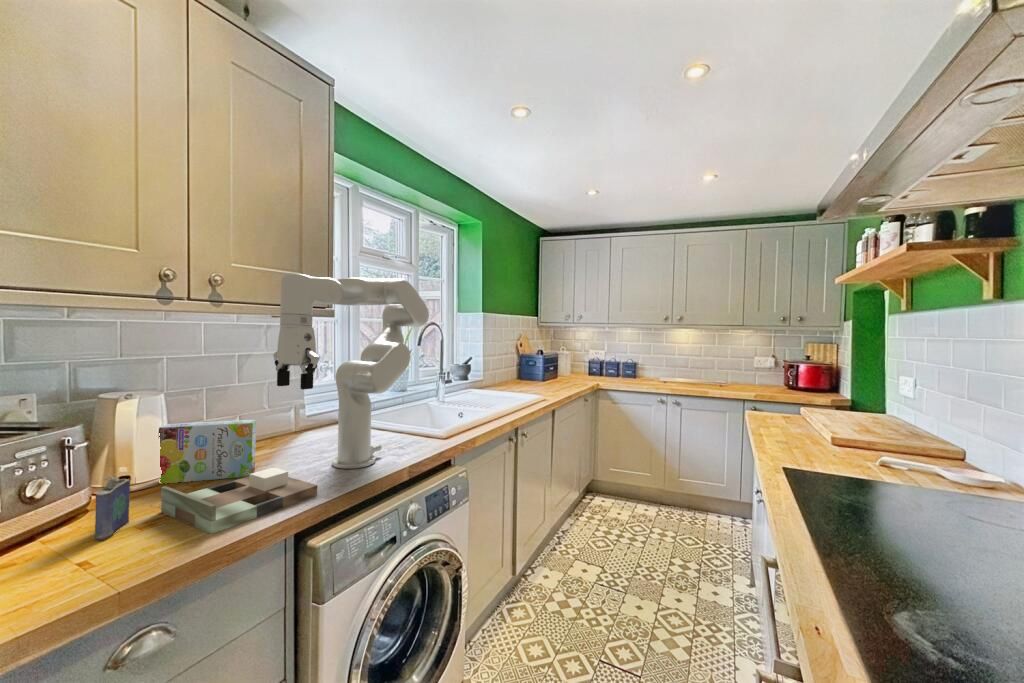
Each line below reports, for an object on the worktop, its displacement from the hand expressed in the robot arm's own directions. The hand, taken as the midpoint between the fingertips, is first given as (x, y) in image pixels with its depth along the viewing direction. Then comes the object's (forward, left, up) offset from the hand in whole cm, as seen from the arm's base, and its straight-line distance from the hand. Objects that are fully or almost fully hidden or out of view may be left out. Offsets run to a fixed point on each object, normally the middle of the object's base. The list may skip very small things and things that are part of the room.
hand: (294, 387), depth 111 cm
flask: (+34, -7, -26) cm, 43 cm away
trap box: (+13, +1, -26) cm, 29 cm away
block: (+7, +1, -23) cm, 24 cm away
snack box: (+8, -24, -26) cm, 36 cm away
